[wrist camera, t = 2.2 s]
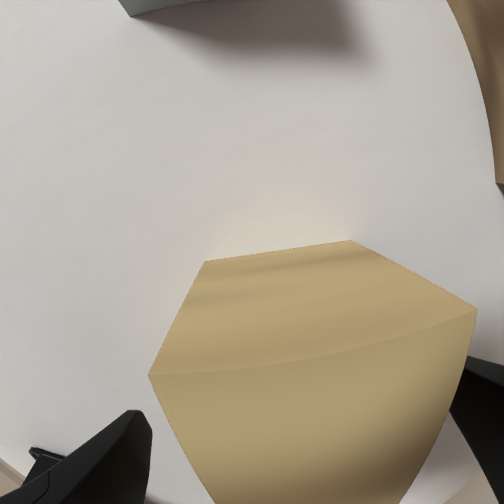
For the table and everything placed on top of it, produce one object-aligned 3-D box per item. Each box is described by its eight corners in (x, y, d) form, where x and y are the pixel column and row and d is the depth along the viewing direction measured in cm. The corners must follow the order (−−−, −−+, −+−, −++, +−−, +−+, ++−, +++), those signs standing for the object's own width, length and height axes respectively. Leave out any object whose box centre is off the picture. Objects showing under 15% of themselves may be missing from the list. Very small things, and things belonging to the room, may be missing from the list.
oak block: (345, 431, 9) (381, 526, 4) (248, 448, 9) (253, 552, 4) (349, 239, 7) (477, 308, 3) (205, 260, 7) (147, 374, 3)
